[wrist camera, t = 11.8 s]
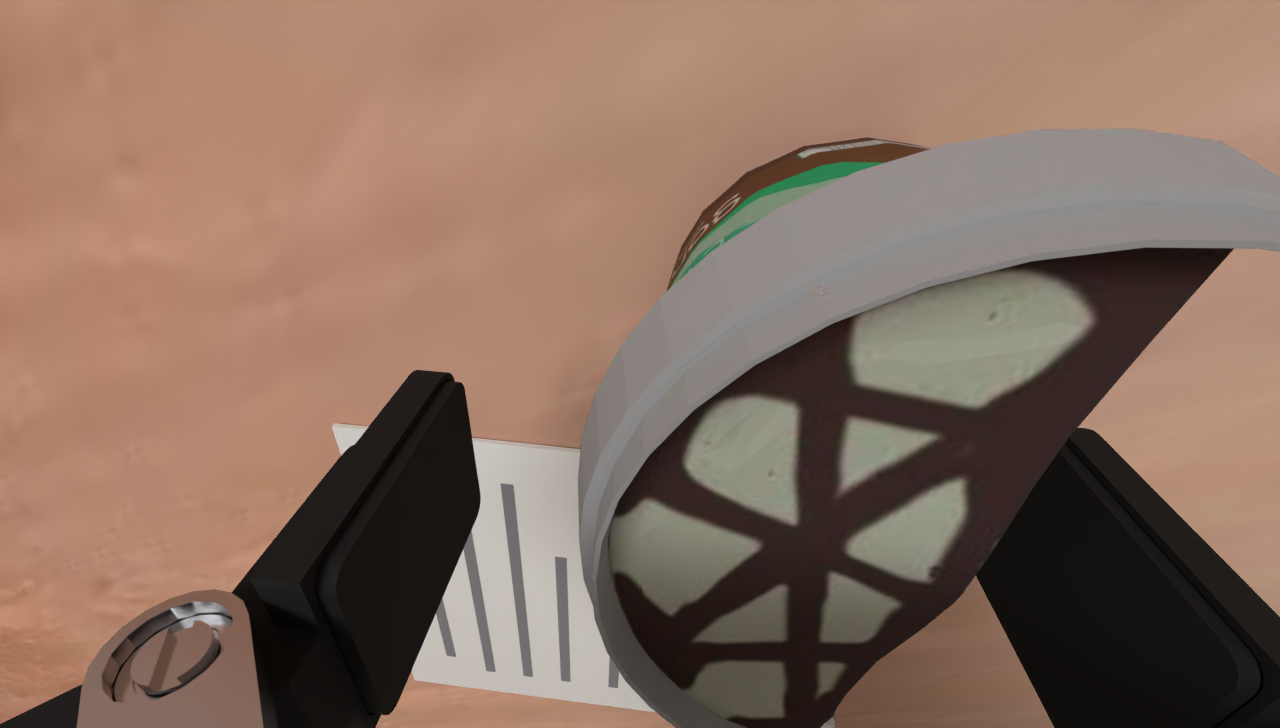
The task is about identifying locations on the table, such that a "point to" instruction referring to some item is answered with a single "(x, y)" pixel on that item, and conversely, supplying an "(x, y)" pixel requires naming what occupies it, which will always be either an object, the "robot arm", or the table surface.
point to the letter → (520, 586)
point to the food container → (873, 394)
